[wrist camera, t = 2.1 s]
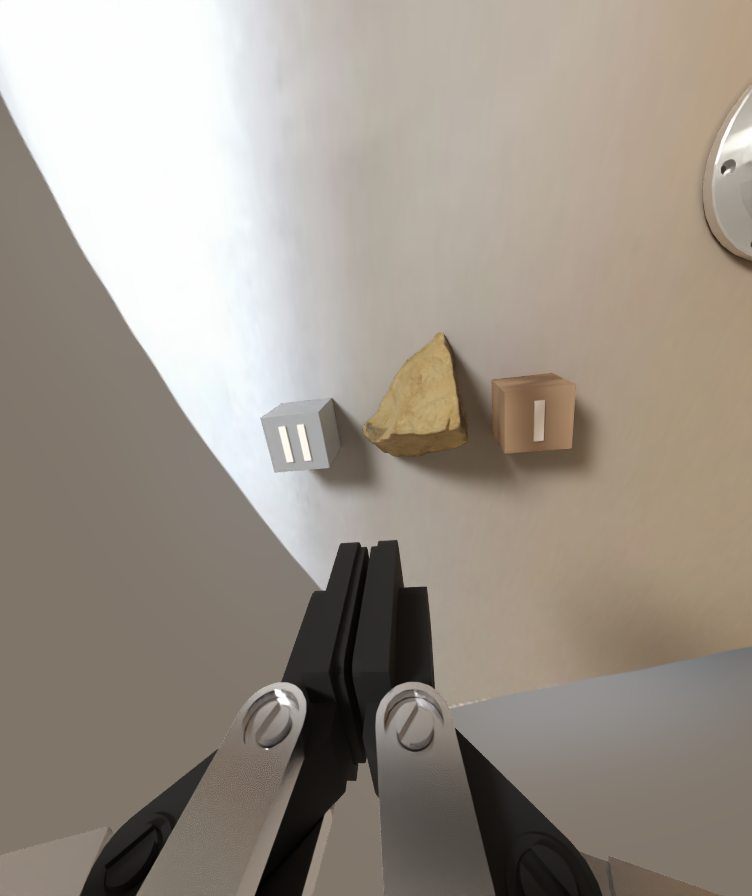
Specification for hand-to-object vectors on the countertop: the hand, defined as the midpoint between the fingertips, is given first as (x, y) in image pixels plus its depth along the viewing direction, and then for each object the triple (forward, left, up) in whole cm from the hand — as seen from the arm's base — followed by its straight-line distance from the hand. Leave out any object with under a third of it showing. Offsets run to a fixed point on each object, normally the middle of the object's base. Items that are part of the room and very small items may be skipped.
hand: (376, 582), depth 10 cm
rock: (0, 0, -24) cm, 24 cm away
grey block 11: (+9, +2, -24) cm, 25 cm away
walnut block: (-10, +2, -24) cm, 26 cm away
